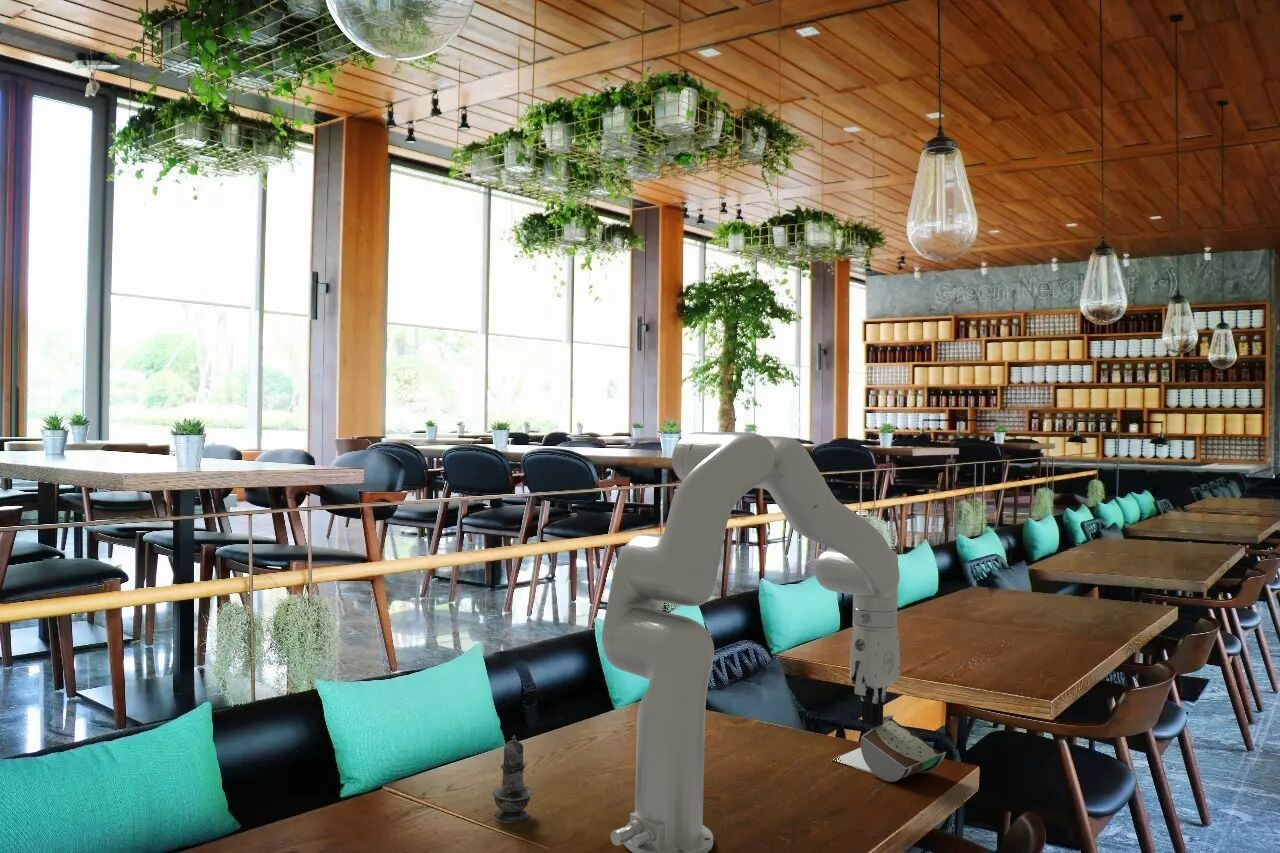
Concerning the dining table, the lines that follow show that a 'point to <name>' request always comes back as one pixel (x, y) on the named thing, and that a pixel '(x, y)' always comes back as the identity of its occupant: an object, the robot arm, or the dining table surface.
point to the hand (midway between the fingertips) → (872, 723)
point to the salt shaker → (512, 786)
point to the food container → (897, 751)
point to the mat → (854, 760)
